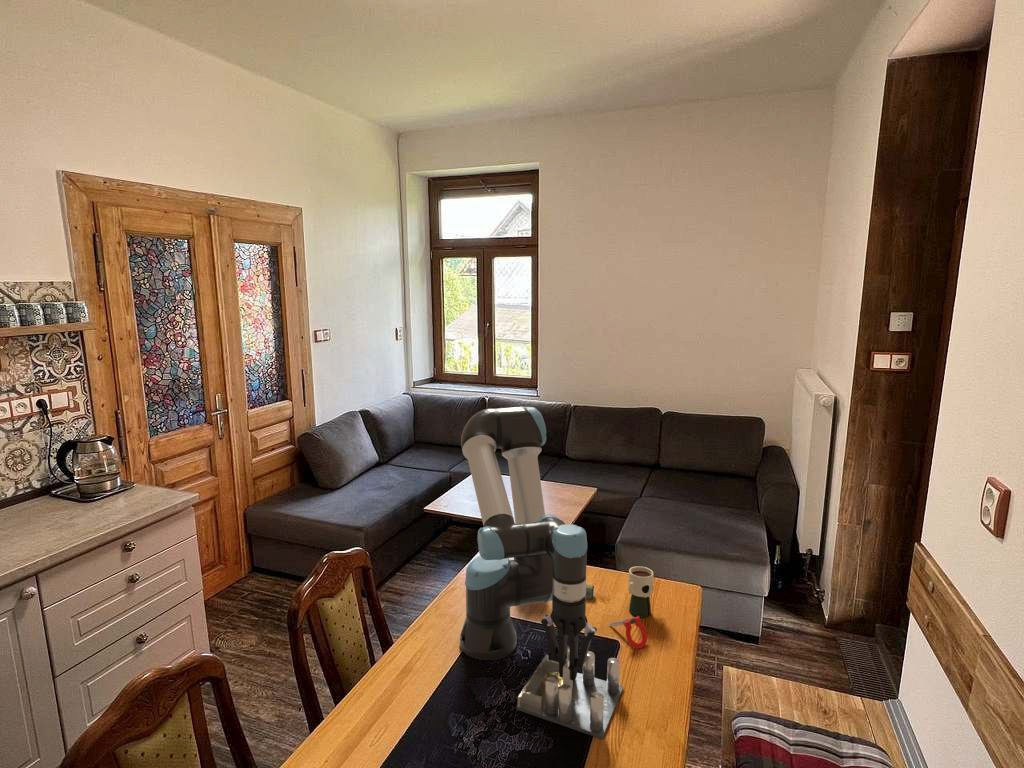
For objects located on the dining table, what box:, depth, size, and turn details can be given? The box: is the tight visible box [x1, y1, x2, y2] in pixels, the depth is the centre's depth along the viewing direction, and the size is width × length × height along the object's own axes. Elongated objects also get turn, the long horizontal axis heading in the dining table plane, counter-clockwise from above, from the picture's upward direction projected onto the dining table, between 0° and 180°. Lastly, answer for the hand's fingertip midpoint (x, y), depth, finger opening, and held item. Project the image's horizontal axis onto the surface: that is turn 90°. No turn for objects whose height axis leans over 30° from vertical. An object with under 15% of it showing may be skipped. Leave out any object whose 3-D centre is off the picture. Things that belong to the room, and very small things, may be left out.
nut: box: [542, 672, 563, 698], centre depth 130 cm, size 5×6×3 cm
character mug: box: [628, 565, 655, 618], centre depth 164 cm, size 11×7×13 cm, turn 132°
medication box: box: [585, 584, 595, 600], centre depth 174 cm, size 12×3×4 cm, turn 76°
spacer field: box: [516, 646, 624, 740], centre depth 129 cm, size 20×17×8 cm
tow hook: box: [609, 616, 648, 649], centre depth 153 cm, size 7×10×7 cm
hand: (567, 690), depth 129 cm, fingers closed
